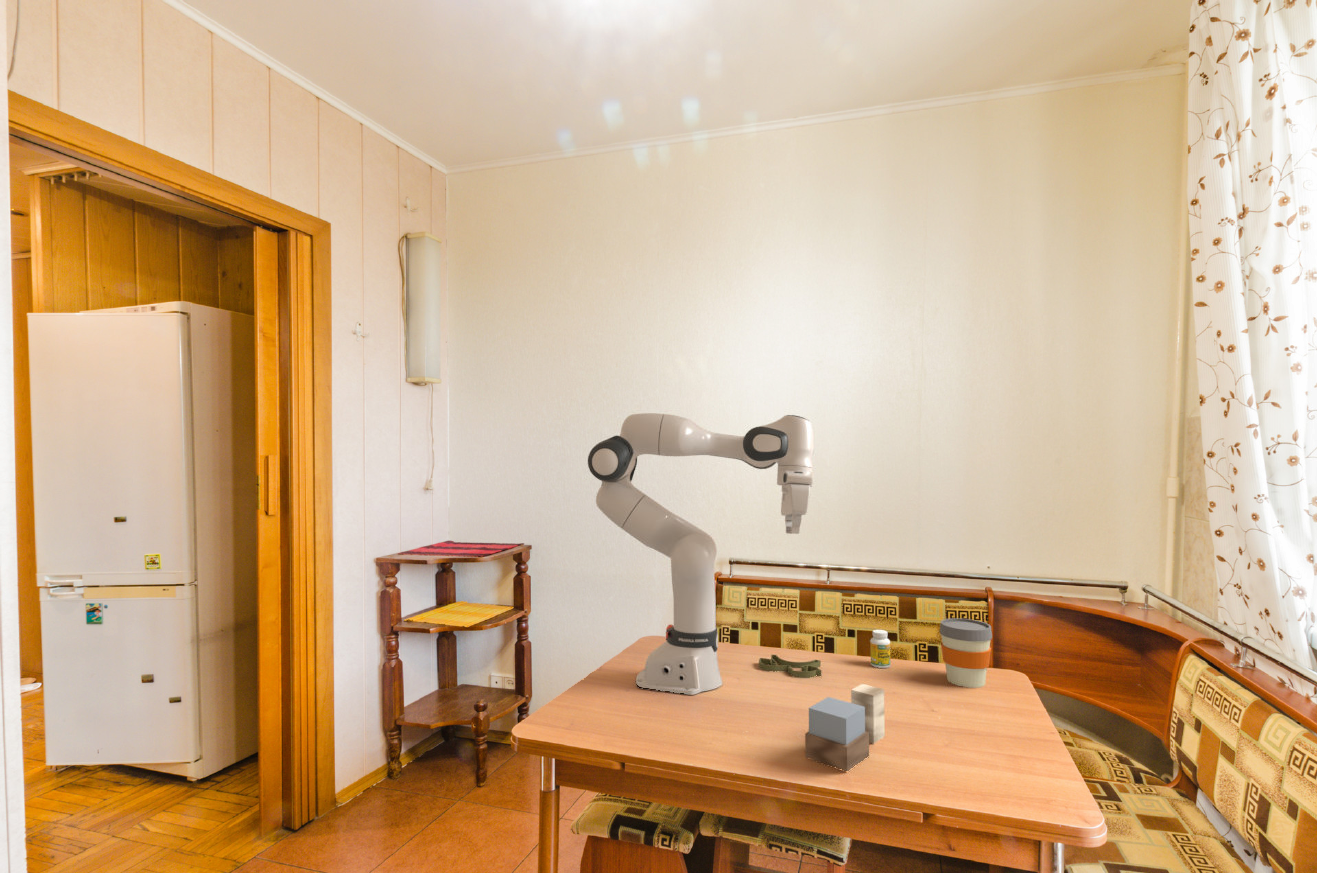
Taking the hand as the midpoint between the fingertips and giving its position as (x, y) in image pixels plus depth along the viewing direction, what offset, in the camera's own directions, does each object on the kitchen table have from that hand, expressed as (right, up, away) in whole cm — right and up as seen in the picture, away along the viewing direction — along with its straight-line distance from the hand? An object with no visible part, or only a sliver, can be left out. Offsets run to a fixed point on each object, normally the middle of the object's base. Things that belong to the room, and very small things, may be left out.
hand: (792, 533), depth 170 cm
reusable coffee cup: (+47, -40, +7) cm, 62 cm away
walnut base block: (+2, -39, -36) cm, 54 cm away
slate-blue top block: (+2, -34, -36) cm, 50 cm away
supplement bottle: (+29, -40, +20) cm, 53 cm away
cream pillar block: (+11, -39, -27) cm, 49 cm away
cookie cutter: (+3, -41, +17) cm, 44 cm away
